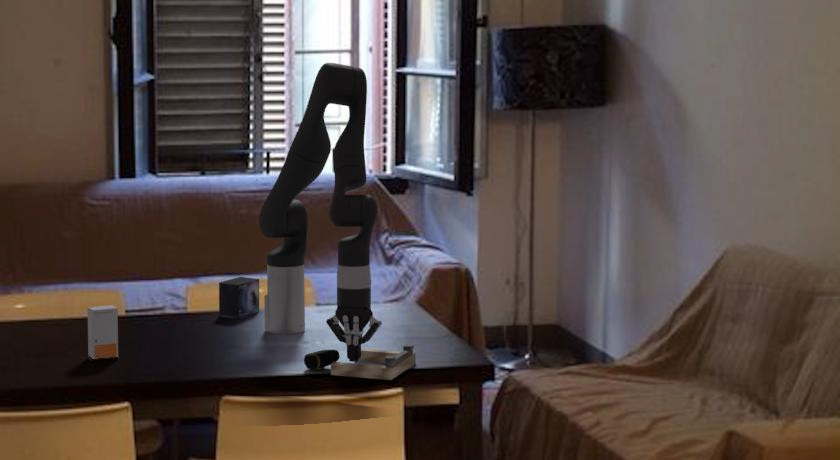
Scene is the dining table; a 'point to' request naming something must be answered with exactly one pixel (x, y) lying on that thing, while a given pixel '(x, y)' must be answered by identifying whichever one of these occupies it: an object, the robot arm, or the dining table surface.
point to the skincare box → (102, 332)
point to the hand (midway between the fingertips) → (354, 360)
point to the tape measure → (321, 359)
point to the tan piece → (393, 368)
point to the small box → (238, 297)
